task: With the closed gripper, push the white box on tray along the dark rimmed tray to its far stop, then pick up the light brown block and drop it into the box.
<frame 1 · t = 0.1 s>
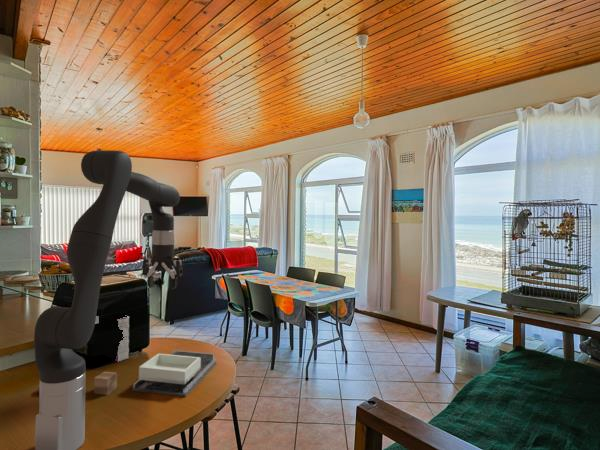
hand: (162, 287, 131), 29 cm above the table, tool pointing down, fingers open, 8 cm apart
white box on tray: (170, 370, 121), point 4 cm above the table, slide at 0.0 cm
dark rimmed tray: (177, 376, 126), on the table
race car: (60, 386, 117), on the table
light brown block: (105, 390, 115), on the table
candy bar box: (114, 357, 140), on the table
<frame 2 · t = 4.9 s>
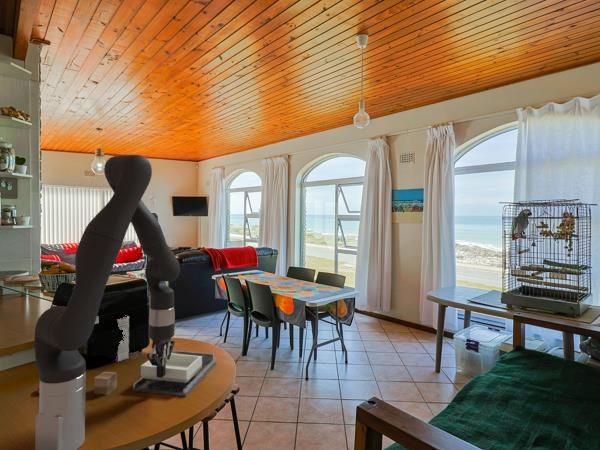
hand: (161, 376, 114), 5 cm above the table, tool pointing down, fingers closed
white box on tray: (172, 369, 122), point 4 cm above the table, slide at 1.1 cm, touching gripper
everything else where it was.
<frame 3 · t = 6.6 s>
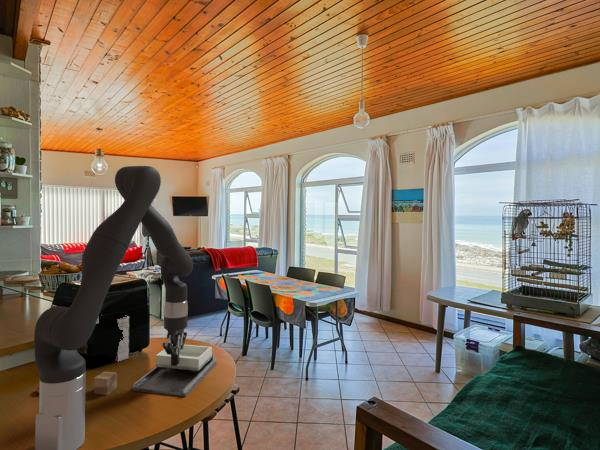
hand: (174, 364, 123), 5 cm above the table, tool pointing down, fingers closed
white box on tray: (184, 358, 131), point 4 cm above the table, slide at 10.0 cm, touching gripper
everything else where it was.
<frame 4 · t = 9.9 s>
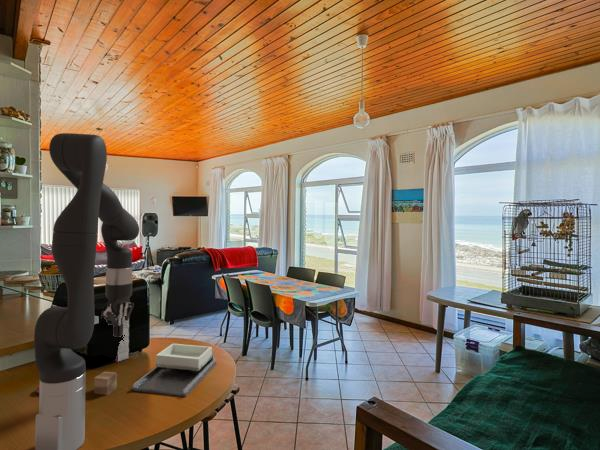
hand: (118, 336, 115), 17 cm above the table, tool pointing down, fingers closed
white box on tray: (184, 358, 131), point 4 cm above the table, slide at 10.0 cm
everything else where it was.
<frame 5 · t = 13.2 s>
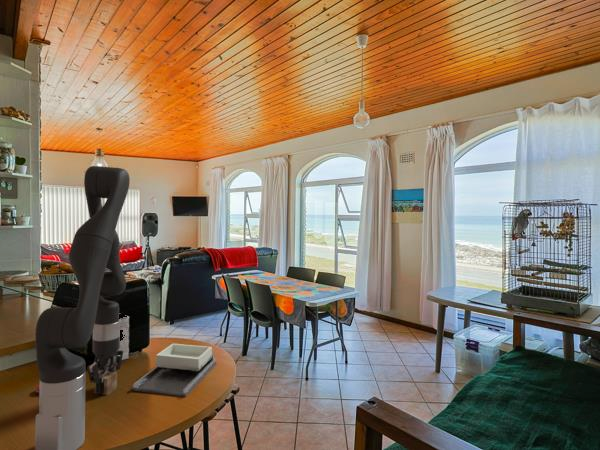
hand: (105, 389, 115), 0 cm above the table, tool pointing down, fingers closed on light brown block, 4 cm apart
light brown block: (105, 390, 115), on the table, touching gripper
everything else where it was.
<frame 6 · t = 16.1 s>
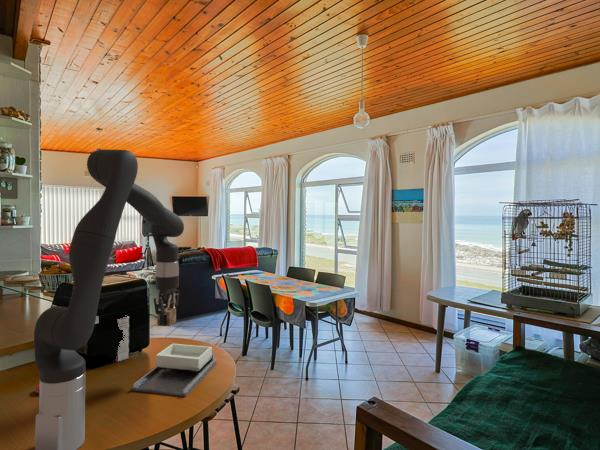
hand: (167, 322, 127), 18 cm above the table, tool pointing down, fingers closed on light brown block, 4 cm apart
light brown block: (166, 323, 127), point 18 cm above the table, touching gripper
everything else where it was.
when the fingers open (7 cm above the table, at t = 19.0 s): light brown block drops 3 cm, resting on white box on tray.
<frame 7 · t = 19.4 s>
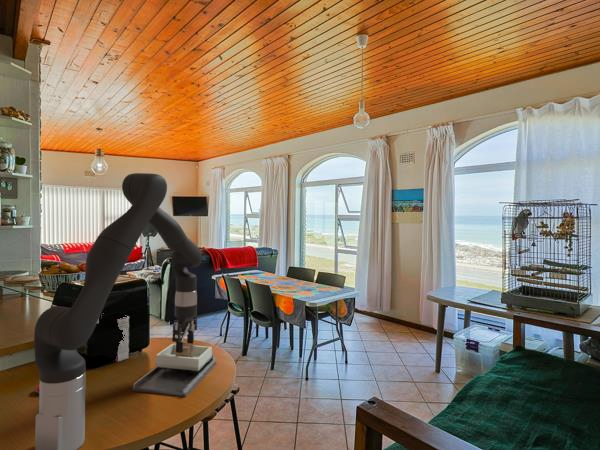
hand: (185, 347, 131), 8 cm above the table, tool pointing down, fingers open, 8 cm apart
white box on tray: (184, 358, 131), point 4 cm above the table, slide at 10.0 cm, touching light brown block
light brown block: (184, 359, 131), point 4 cm above the table, touching white box on tray
everything else where it was.
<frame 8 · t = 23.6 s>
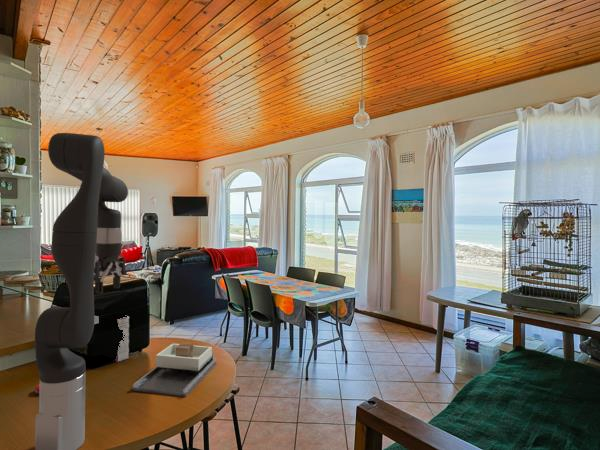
hand: (108, 290, 120), 30 cm above the table, tool pointing down, fingers open, 8 cm apart
nothing on the table moved.
at the end: white box on tray slide at 10.0 cm; light brown block inside the target area (0.2 cm from its centre), point 4.0 cm above the table; light brown block tilted 0° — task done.
